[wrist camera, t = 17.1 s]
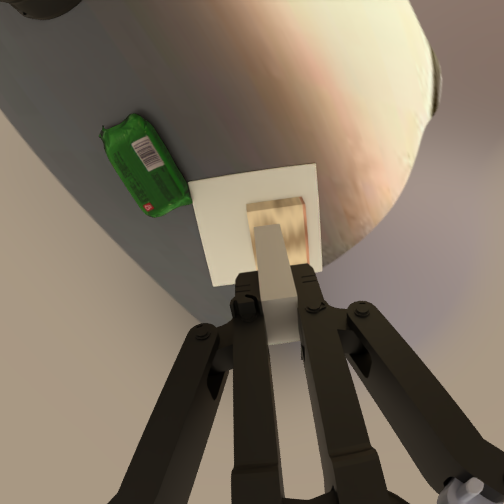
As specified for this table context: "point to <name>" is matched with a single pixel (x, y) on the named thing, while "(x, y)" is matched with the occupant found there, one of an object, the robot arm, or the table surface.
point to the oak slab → (283, 225)
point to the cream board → (235, 215)
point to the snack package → (145, 166)
